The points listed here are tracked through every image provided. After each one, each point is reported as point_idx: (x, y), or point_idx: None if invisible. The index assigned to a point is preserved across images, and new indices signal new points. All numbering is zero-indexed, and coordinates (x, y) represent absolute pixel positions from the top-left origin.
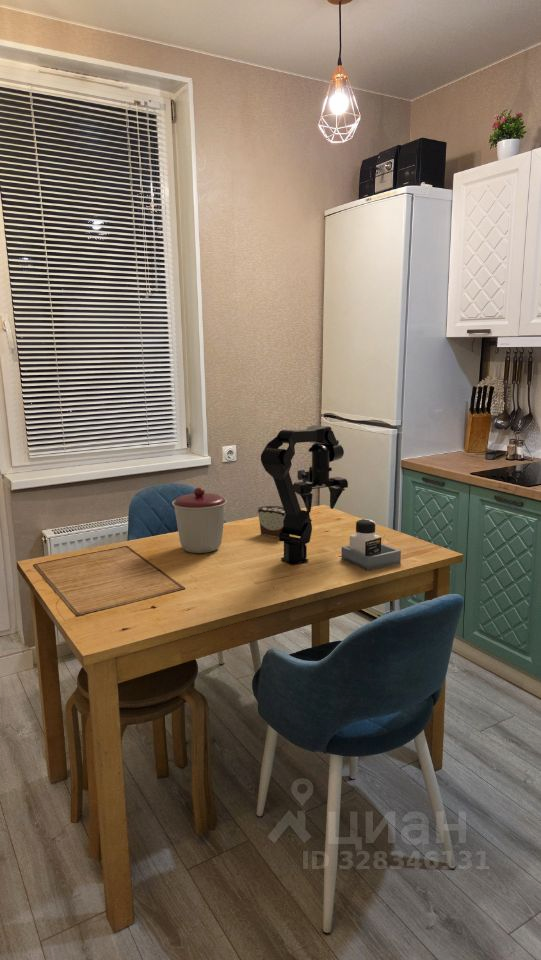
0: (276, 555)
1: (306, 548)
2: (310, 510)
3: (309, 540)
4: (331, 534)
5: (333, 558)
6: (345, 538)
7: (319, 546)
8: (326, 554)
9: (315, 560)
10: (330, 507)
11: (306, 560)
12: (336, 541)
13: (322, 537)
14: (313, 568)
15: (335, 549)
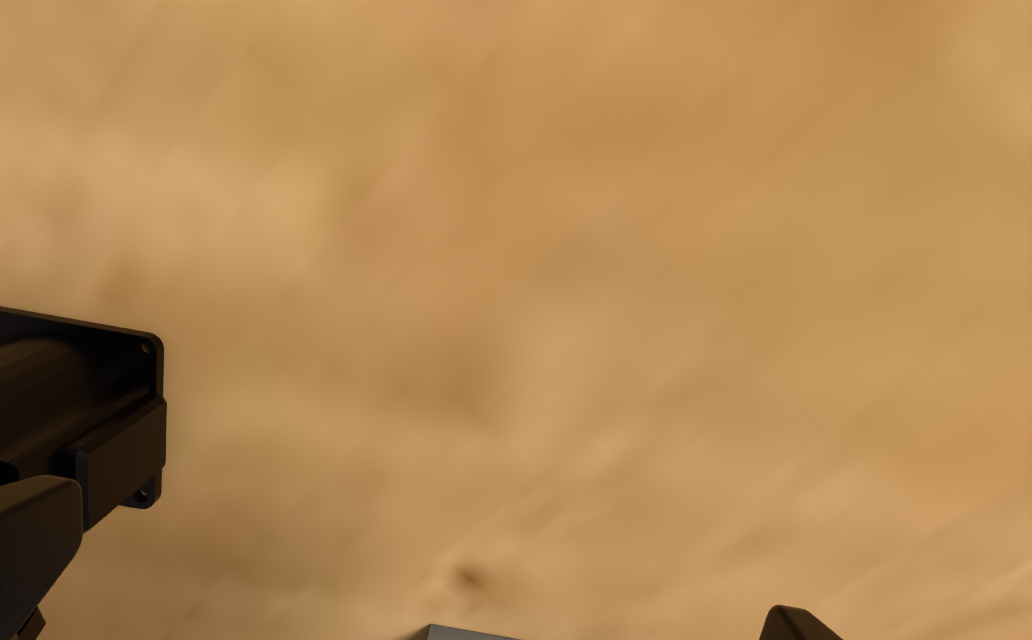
0: (2, 176)
1: (106, 514)
2: (24, 611)
3: (29, 636)
4: (1007, 12)
5: (387, 575)
6: (967, 252)
7: (536, 261)
8: (414, 472)
9: (231, 513)
10: (781, 621)
11: (128, 506)
12: (803, 261)
13: (822, 30)
14: (106, 620)
15: (583, 432)
